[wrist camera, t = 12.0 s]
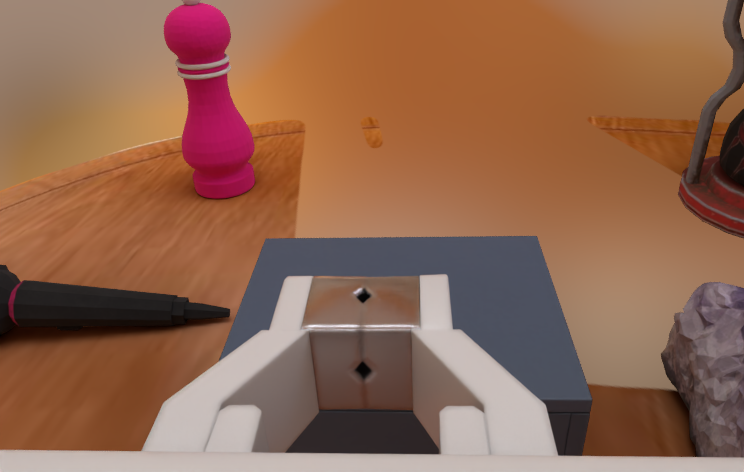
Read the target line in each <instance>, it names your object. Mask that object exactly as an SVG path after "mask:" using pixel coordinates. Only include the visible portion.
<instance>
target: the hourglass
mask: <svg viewBox="0 0 744 472" xmlns="http://www.w3.org/2000/svg"><path fill="white" fill-rule="evenodd" d="M743 2H744V0H728V3H727V7H726V11H725V15H724V20H723V27H724V34H725V38H726V39H727V41H728V43H729V44H730V46H731V47H732V49H733V69H732V71H731V73H730V75H729V77H728V79H727V81H726V83H725V85H724V86H723V87H722V88H720V89H719V90H718V91H717V92H715V93H714V94H713V95H712V96H711V97H710V98H709V100H708V101H707V103H706V104H705V106H704V107H703V109H702V112H701V116H700V120H699V125H698V129H697V133H696V137H695V142H694V146H693V150H692V154H691V159H690V163H689V167H688V168H686V169H685V170H684V171H683V174H682V179H681V183H680V187H679V192H678V195H679V197H680V199H681V201H682V202H683V204H684V206H685V207H686V208H687V209H688V210H689V211H690V212H692V213H693V214H694V215H695V216H697V217H698V218H699V219H701V220H702V221H703V222H706V223H708V224H710V225H712V226H714V227H716V228H718V229H720V230H722V231H724V232H726V233H728V234H732V235H735V236H738V237H741V238H744V109H743V110H742V111H741V112H740V113H739V114H738V115H737V116H736V117H735V118H734V120H733V121H732V122H731V123H730V125H729V127H728V130H727V132H726V134H725V137H724V139H723V143H722V147H721V151H720V156H714V157H710V158H706V159H704V158H705V154H706V150H707V146H708V142H709V138H710V134H711V131H712V127H713V123H714V119H715V115H716V111H717V110H718V109H719V107H720V106H721V104H722V103H723V102H724V101H725V99H726V98H728V97H729V96H730V95H732V94H733V93H734V92H736V91H737V90H738V89H740V88H741V86H742V84H743V83H744V39H743V37H742V34H741V28H740V23H739V19H740V14H741V11H742V7H743Z"/></svg>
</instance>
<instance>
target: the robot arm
mask: <svg viewBox="0 0 744 472" xmlns="http://www.w3.org/2000/svg"><path fill="white" fill-rule="evenodd" d="M330 409H389V410H413V413H414V414H415V416H416V417H417V418H418V420H419V421H420V423H421V424H422V426H423V427H424V428H425V430H426V431H427V433H428V434H429V436H430V437H431V438H432V440H433V441H434V443H435V444H436V445H437V447H438V448H439V454H345V453H285V452H286V451H287V450H288V448H289V447H290V446H291V445H292V444H293V443H294V441H295V440H296V439H297V438H298V437H299V435H300V434H301V433H302V432H303V431H304V430H305V428H306V427H307V426H308V425H309V424H310V423H311V421H312V420H313V419H314V418H315V417H316V415H317V414H318V413H319V410H330ZM0 472H744V458H741V457H636V456H558V453H557V449H556V445H555V441H554V437H553V433H552V429H551V425H550V421H549V416H548V412H547V408H546V405H545V404H544V403H543V402H542V401H541V400H540V399H538V398H537V397H536V396H535V395H534V394H533V393H532V392H531V391H529V390H528V389H527V388H526V387H525V386H524V385H523V384H521V383H520V382H519V381H518V380H517V379H516V378H515V377H514V376H512V375H511V374H510V373H509V372H508V371H507V370H506V369H505V368H503V367H502V366H501V365H500V364H499V363H498V362H497V361H496V360H494V359H493V358H492V357H491V356H490V355H489V354H488V353H487V352H485V351H484V350H483V349H482V348H481V347H480V346H479V345H478V344H476V343H475V342H474V341H473V340H472V339H471V338H470V337H469V336H467V335H466V334H465V333H464V332H463V331H462V330H460V329H453V326H452V315H451V304H450V293H449V282H448V276H447V275H446V274H439V275H420V279H419V276H395V277H364V276H314V277H313V276H288V277H287V278H286V279H285V280H284V282H283V286H282V289H281V292H280V296H279V299H278V302H277V306H276V309H275V312H274V315H273V319H272V322H271V325H270V329H269V330H261V331H260V332H258V333H257V334H256V335H254V336H253V337H252V338H250V339H249V340H248V341H246V342H245V343H244V344H242V345H241V346H239V347H238V348H237V349H235V350H234V351H233V352H231V353H230V354H229V355H227V356H226V357H225V358H223V359H222V360H220V361H219V362H218V363H216V364H215V365H214V366H212V367H211V368H210V369H208V370H207V371H206V372H204V373H203V374H202V375H200V376H199V377H197V378H196V379H195V380H193V381H192V382H191V383H189V384H188V385H187V386H185V387H184V388H183V389H181V390H180V391H178V392H177V393H176V394H174V395H173V396H172V397H170V398H169V399H168V400H166V401H165V402H164V403H163V405H162V407H161V410H160V412H159V414H158V416H157V418H156V420H155V423H154V425H153V427H152V429H151V431H150V433H149V436H148V438H147V440H146V442H145V444H144V447H143V449H142V451H67V450H0Z"/></svg>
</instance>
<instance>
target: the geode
mask: <svg viewBox="0 0 744 472" xmlns="http://www.w3.org/2000/svg"><path fill="white" fill-rule="evenodd" d="M683 310H684V313H675V316H674V320H675V323H674V325H673V327H672V329H671V331H670V334H669V340H668V343H667V346H666V348H665V350H664V351H663V352H662V353H661V358H662V362H663V364H664V368H665V371H666V375H667V377H668V378H669V380H670V381H671V383H672V384H673V385H674V386H675V387H676V389H677V390H678V392H679V394H680V396H681V398H682V399H683V401H684V403H685V405H686V406H687V408H688V410H689V411H690V418H689V428H690V439H691V440H692V442H693V443H694V445H695V448H696V457H741V458H744V288H741V287H737V286H733V285H729V284H725V283H721V282H709V283H704V284H702V285H701V286H699V287H698V288H697V289H696V290H695V291H694V292H693V294H692V295H691V297H690V299H689V300H688V302H687V304H686V305H685V307H684V308H683Z"/></svg>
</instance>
